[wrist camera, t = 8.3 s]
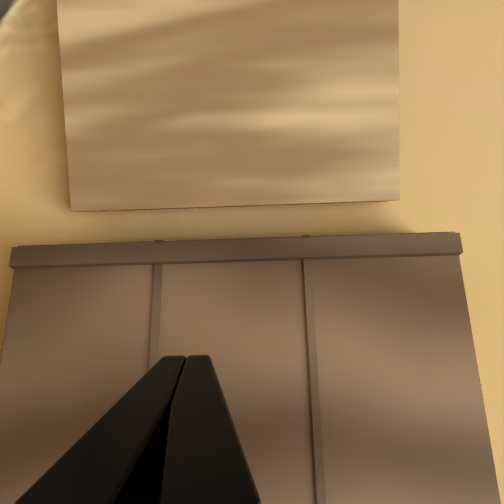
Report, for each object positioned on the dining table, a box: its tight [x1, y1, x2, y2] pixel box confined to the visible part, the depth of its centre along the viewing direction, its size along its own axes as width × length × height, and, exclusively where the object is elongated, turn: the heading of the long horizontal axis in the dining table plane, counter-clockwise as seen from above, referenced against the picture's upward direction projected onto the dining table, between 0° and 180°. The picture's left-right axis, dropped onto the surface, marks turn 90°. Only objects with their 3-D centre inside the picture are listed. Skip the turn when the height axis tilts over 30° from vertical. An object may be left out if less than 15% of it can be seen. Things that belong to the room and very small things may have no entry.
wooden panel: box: [0, 232, 501, 504], centre depth 17 cm, size 16×18×2 cm
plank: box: [56, 0, 399, 212], centre depth 19 cm, size 2×14×16 cm
